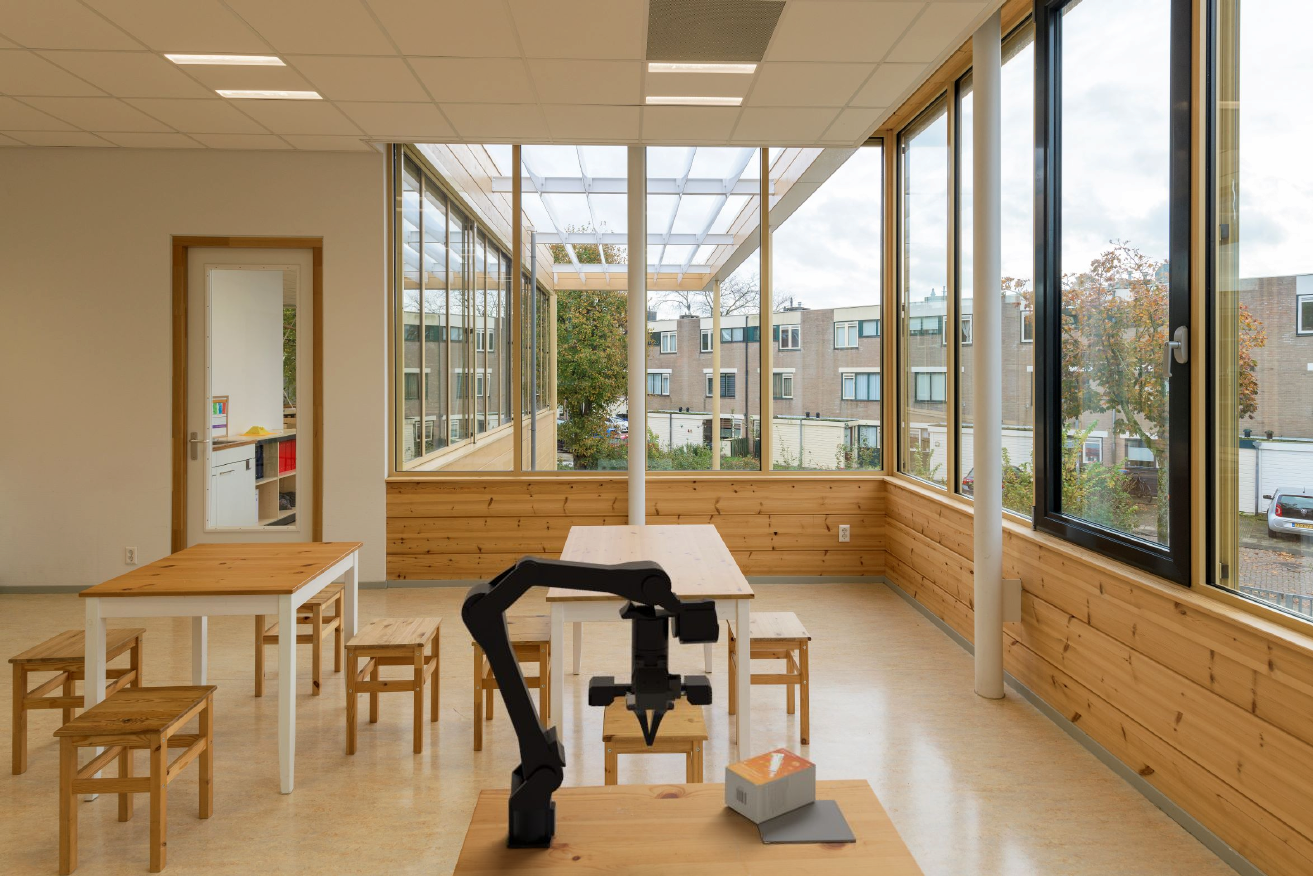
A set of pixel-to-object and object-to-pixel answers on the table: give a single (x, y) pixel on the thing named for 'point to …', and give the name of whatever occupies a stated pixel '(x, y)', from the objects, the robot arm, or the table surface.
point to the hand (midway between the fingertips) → (649, 745)
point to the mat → (808, 825)
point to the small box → (770, 785)
